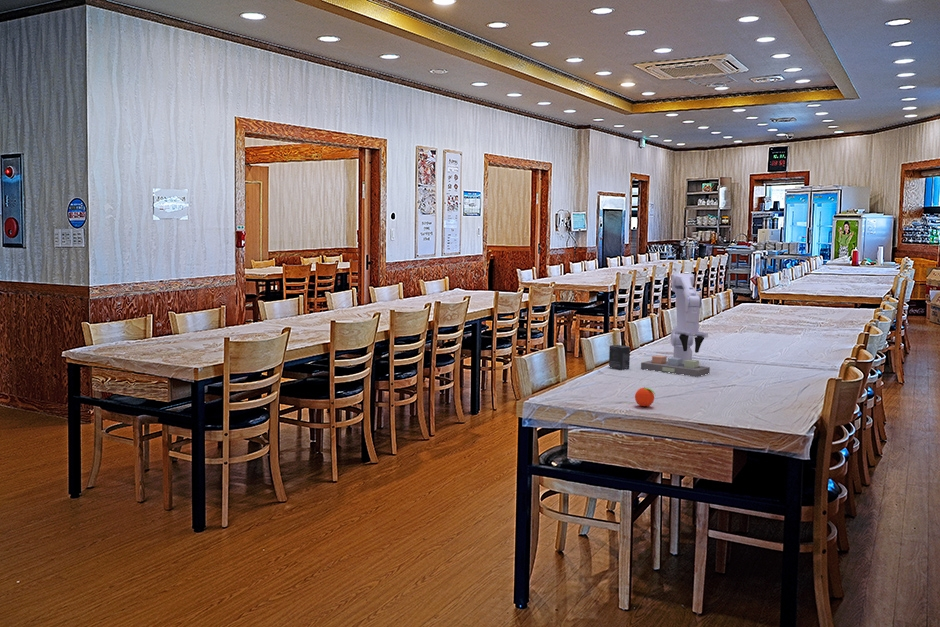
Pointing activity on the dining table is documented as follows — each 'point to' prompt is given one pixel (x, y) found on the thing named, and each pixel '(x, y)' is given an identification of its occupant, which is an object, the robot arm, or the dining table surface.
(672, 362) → the slate button
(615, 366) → the box
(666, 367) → the button panel
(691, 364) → the sage button
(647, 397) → the clementine
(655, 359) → the terracotta button
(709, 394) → the dining table surface
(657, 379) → the dining table surface
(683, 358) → the robot arm
